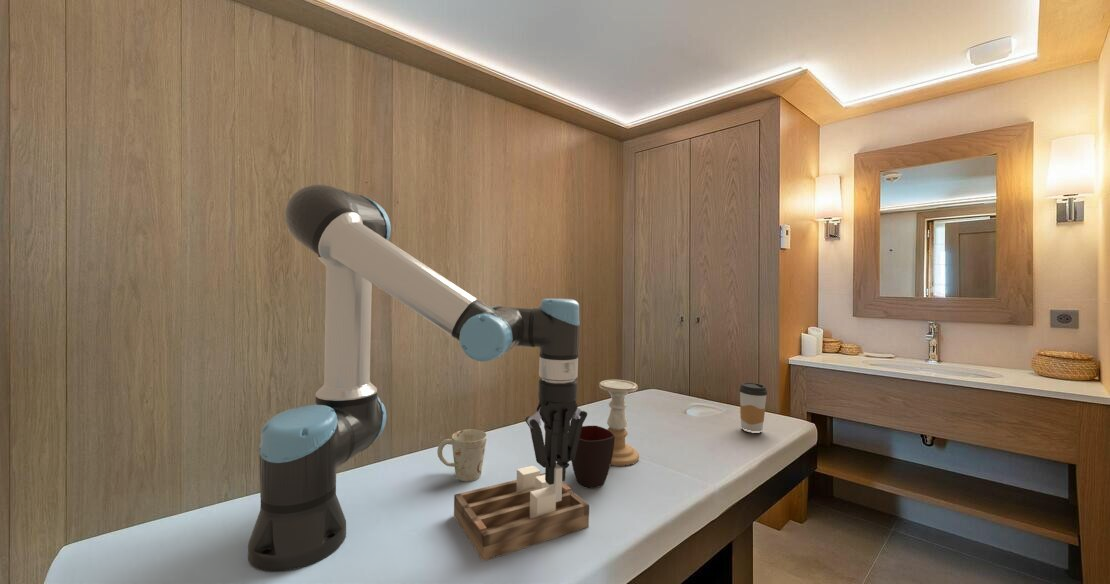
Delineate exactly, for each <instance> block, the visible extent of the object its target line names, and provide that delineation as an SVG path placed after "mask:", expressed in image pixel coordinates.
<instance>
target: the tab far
mask: <svg viewBox="0 0 1110 584" xmlns="http://www.w3.org/2000/svg"><path fill="white" fill-rule="evenodd" d="M540 474H541V470H539V468H538V467H536V466H535V465H530V466H525V467H520V468H517V469H516V480H517V490H516V492H520V491H524V490H528V489H532V488H535V477H537V476H540Z"/></svg>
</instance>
